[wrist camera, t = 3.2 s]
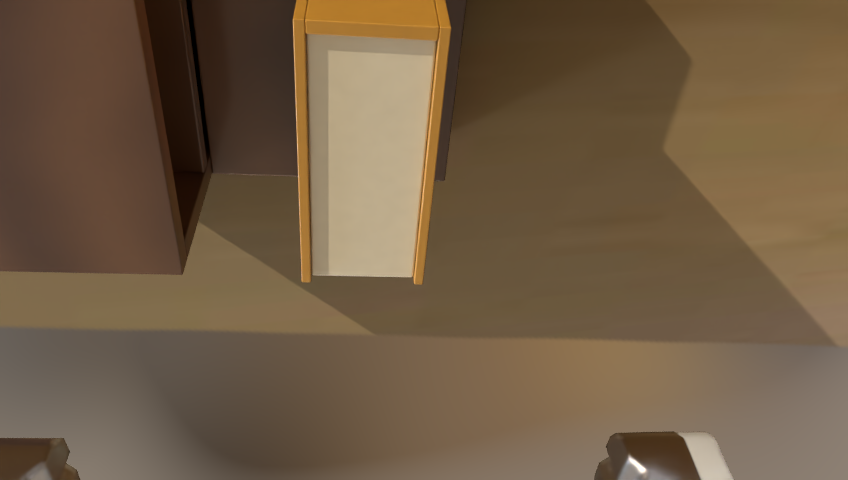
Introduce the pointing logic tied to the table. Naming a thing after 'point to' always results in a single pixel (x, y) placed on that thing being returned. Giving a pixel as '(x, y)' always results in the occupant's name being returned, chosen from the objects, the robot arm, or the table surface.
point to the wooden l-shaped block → (143, 123)
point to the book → (368, 132)
